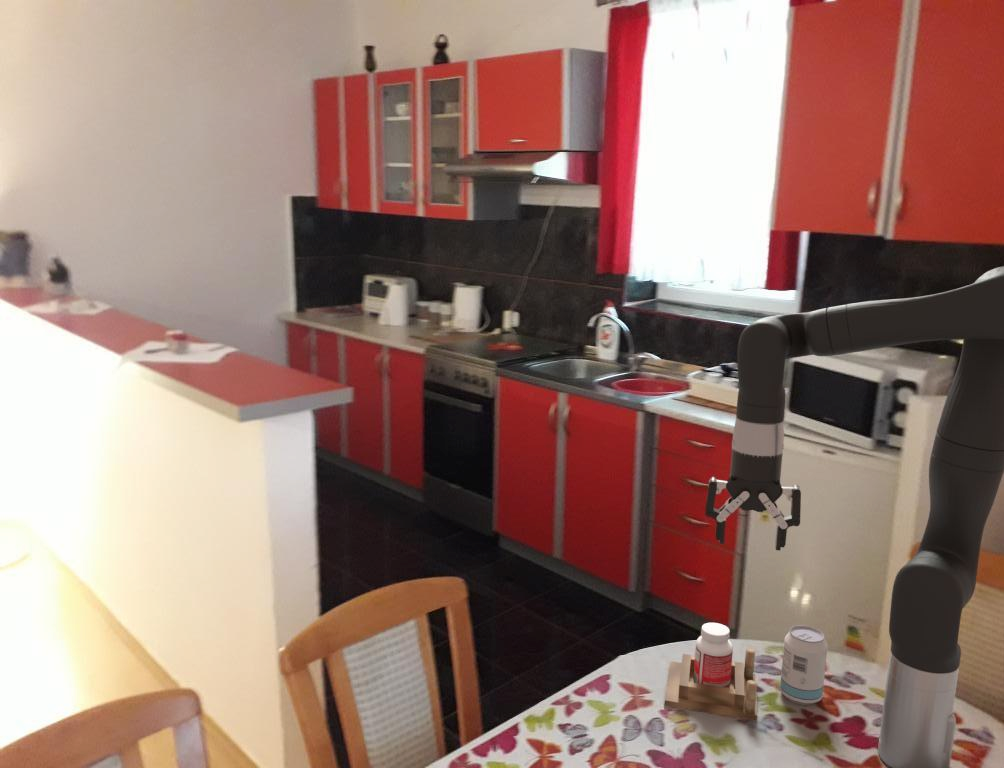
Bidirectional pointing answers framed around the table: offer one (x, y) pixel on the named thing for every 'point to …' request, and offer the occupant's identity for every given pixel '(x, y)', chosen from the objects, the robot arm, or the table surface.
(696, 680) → the pill bottle
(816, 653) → the beverage can
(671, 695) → the holder
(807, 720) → the table surface
